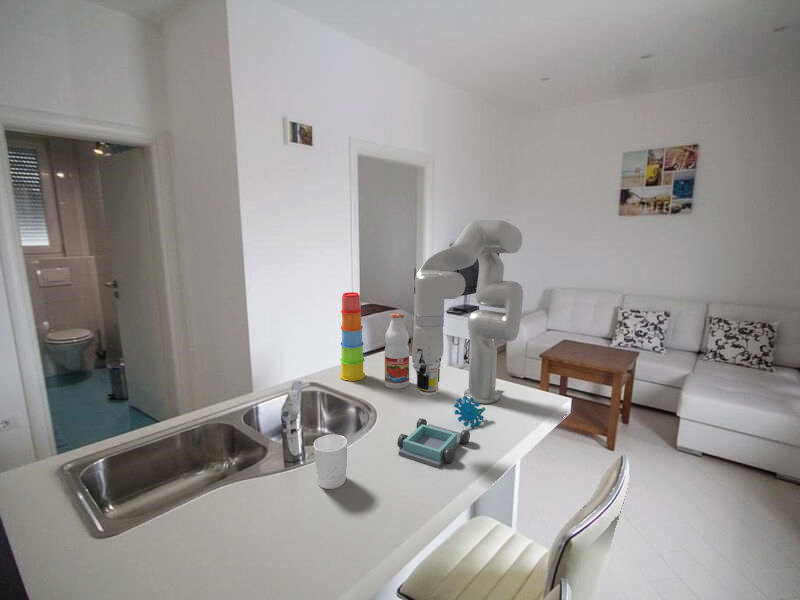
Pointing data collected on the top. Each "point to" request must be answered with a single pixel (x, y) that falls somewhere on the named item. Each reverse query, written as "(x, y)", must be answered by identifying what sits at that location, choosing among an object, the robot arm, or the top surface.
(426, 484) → the top surface
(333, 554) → the top surface
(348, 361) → the stacking cups
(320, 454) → the white cup
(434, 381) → the supplement bottle
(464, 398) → the gear
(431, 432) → the chassis
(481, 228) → the robot arm
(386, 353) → the fruit juice
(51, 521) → the top surface
